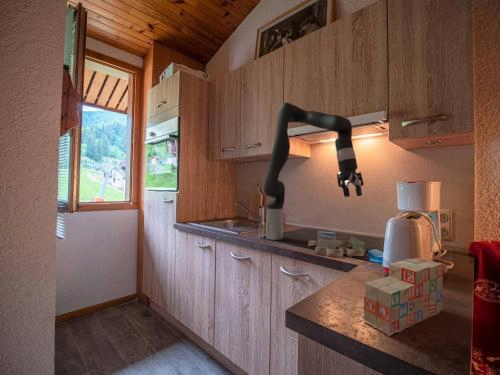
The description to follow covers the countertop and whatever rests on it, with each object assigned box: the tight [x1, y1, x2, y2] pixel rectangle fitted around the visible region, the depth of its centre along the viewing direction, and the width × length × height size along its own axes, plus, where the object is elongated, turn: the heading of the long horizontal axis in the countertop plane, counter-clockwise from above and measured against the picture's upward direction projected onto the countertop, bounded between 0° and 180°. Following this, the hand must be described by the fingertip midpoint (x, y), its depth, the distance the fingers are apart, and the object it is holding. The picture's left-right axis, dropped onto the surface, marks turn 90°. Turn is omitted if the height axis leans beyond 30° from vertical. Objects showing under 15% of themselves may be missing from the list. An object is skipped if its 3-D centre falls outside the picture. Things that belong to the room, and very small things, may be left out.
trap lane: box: [307, 236, 366, 258], centre depth 114 cm, size 22×17×5 cm
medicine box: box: [317, 230, 337, 249], centre depth 116 cm, size 8×4×9 cm, turn 62°
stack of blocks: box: [363, 257, 444, 333], centre depth 58 cm, size 21×6×12 cm, turn 119°
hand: (353, 196), depth 105 cm, fingers open, 8 cm apart
